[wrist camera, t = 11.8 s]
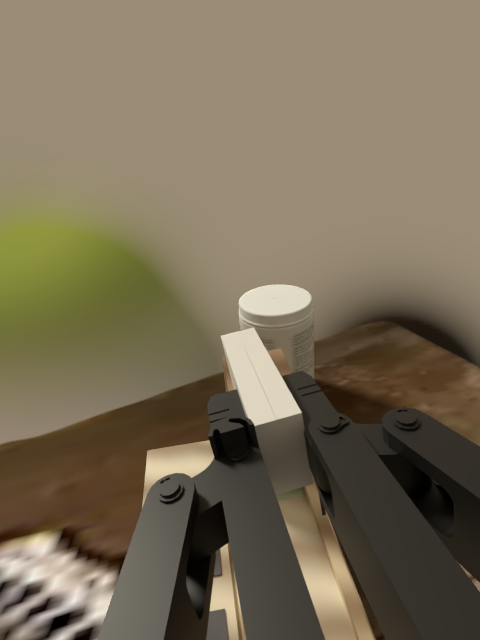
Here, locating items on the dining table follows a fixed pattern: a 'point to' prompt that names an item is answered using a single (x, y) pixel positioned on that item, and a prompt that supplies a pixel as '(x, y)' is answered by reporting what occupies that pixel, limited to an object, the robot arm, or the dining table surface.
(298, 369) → the supplement tub
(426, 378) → the dining table surface
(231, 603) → the box
